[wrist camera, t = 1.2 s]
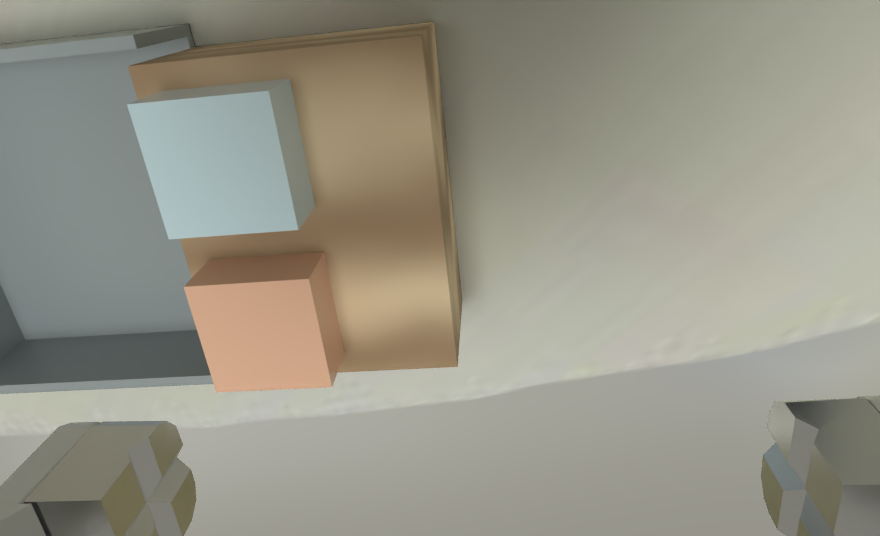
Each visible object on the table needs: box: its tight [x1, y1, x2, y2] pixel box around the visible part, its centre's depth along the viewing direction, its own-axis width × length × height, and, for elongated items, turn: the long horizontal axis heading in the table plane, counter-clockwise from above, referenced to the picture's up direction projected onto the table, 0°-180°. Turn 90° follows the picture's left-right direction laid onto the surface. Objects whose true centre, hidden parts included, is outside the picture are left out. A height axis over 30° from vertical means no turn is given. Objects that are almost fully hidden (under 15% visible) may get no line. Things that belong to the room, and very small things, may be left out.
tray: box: [0, 24, 214, 394], centre depth 30 cm, size 16×14×5 cm
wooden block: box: [128, 22, 462, 372], centre depth 29 cm, size 14×11×6 cm
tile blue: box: [127, 78, 315, 239], centre depth 23 cm, size 5×5×2 cm
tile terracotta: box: [184, 252, 344, 392], centre depth 26 cm, size 5×5×2 cm
